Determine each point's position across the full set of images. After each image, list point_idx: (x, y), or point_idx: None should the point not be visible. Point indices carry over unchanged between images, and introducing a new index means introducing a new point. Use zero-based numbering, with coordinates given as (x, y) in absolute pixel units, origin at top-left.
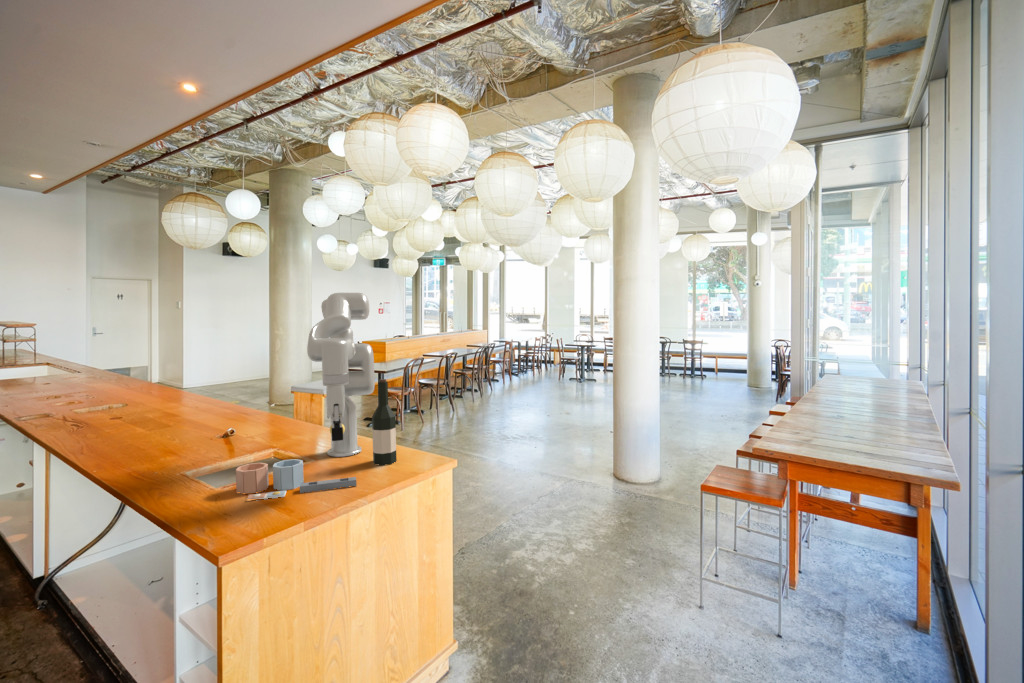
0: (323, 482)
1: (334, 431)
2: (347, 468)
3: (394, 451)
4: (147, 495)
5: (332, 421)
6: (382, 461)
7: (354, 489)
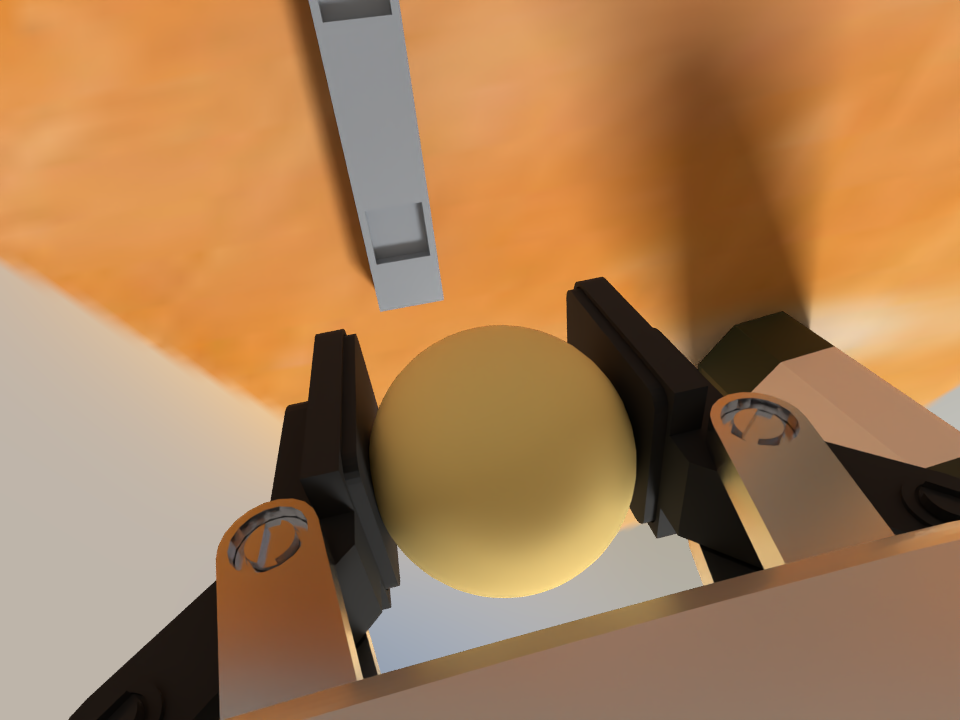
0: (361, 78)
1: (277, 481)
2: (748, 175)
3: None
4: None
5: (228, 680)
6: (711, 378)
7: (323, 291)
